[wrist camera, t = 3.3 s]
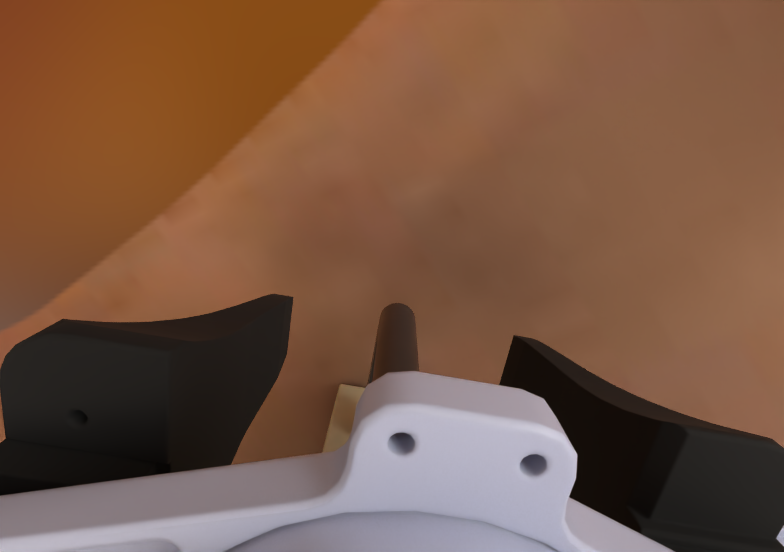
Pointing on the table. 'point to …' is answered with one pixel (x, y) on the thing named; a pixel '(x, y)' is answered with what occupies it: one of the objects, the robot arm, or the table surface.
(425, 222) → the table surface
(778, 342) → the table surface
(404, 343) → the door
